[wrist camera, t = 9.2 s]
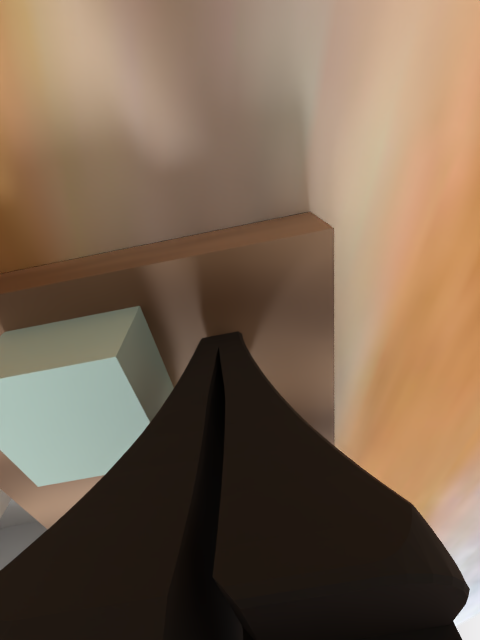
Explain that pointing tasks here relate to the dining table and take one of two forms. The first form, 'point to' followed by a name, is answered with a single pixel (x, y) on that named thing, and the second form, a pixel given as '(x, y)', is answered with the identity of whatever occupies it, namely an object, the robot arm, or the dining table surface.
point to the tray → (17, 532)
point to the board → (196, 315)
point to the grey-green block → (78, 393)
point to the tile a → (3, 502)
